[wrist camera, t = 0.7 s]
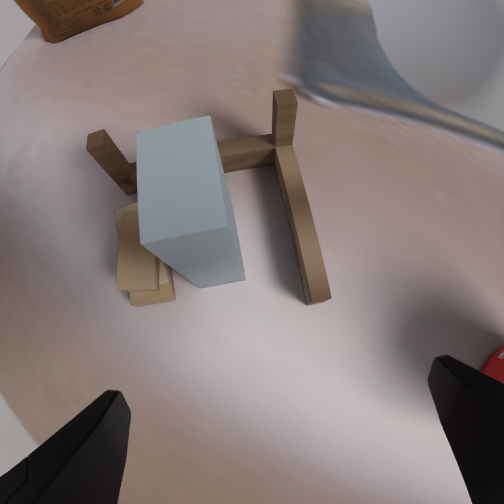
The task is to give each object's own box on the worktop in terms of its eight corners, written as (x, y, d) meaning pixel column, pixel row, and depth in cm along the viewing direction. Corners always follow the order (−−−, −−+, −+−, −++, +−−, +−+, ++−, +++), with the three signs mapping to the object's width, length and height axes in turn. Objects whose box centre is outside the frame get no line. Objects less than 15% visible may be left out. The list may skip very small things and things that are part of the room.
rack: (324, 301, 21) (351, 286, 14) (138, 334, 21) (88, 331, 14) (286, 148, 24) (292, 88, 17) (126, 181, 24) (87, 134, 17)
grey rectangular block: (245, 280, 22) (228, 226, 11) (199, 288, 22) (140, 244, 11) (233, 211, 23) (210, 115, 12) (190, 220, 23) (136, 132, 12)
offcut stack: (179, 299, 21) (166, 293, 18) (132, 306, 21) (114, 302, 18) (168, 206, 23) (155, 188, 20) (125, 216, 23) (108, 200, 20)
